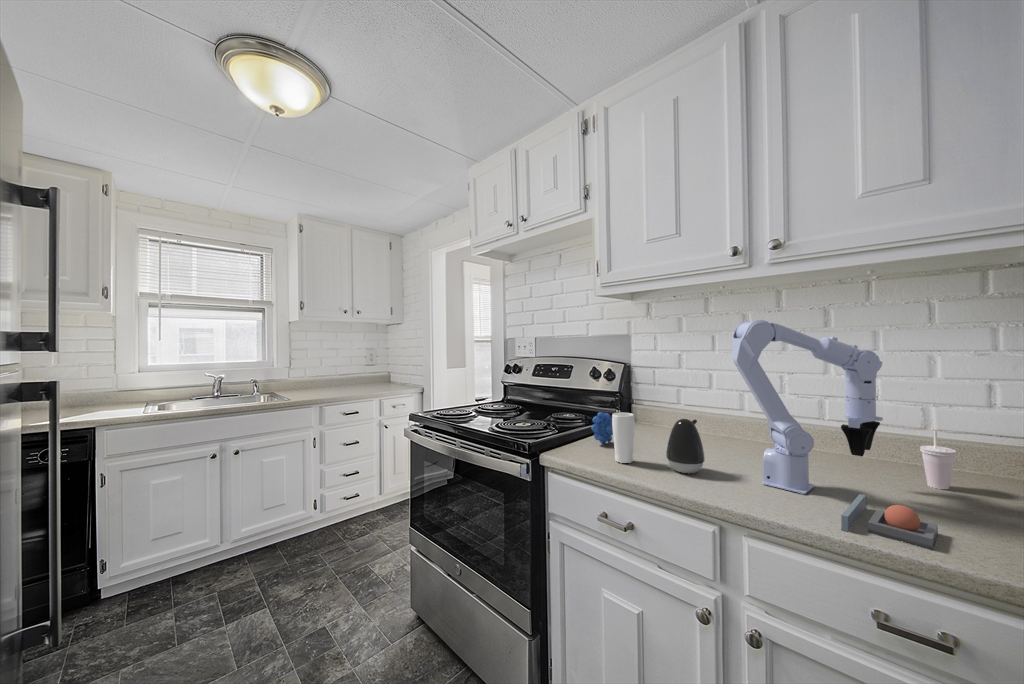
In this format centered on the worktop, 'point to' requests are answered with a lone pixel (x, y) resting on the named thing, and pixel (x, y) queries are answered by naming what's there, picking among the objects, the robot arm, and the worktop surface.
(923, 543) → the tray
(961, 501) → the worktop surface
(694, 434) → the black egg-shaped device
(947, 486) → the smoothie
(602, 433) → the grapes
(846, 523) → the low wall
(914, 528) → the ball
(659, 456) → the worktop surface
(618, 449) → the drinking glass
